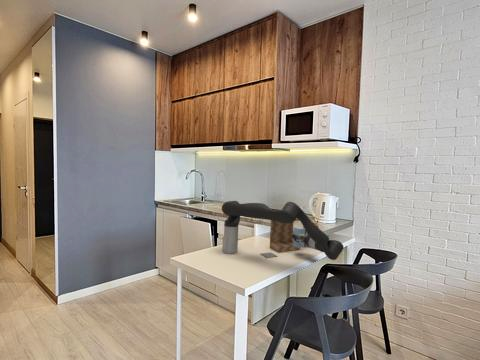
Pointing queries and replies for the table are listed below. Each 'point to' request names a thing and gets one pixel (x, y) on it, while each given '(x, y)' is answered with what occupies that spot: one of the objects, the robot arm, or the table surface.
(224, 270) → the table surface
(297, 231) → the carton
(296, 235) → the robot arm
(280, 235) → the shelf
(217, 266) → the table surface
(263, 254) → the mat
